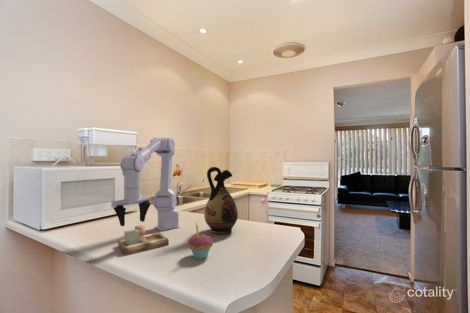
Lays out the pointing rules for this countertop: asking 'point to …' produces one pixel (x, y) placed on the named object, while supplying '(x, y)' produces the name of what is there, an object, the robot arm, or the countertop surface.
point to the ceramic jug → (220, 204)
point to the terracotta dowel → (141, 229)
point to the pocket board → (144, 243)
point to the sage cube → (131, 237)
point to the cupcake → (200, 245)
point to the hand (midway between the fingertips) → (132, 223)
